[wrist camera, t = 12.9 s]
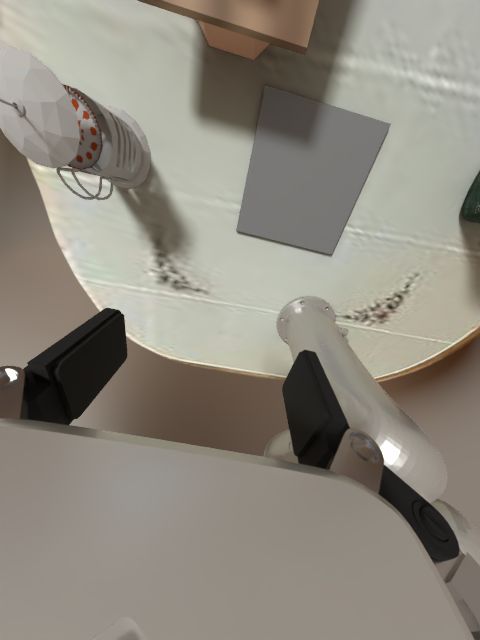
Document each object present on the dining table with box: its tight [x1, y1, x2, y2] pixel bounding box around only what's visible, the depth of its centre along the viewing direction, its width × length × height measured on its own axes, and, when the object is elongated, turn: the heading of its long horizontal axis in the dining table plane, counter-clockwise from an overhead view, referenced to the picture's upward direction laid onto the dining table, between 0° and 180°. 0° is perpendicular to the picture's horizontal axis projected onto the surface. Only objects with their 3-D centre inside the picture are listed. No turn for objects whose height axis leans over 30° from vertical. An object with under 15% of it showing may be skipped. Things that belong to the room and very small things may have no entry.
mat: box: [236, 85, 390, 255], centre depth 31 cm, size 18×18×1 cm
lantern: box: [0, 47, 150, 200], centre depth 20 cm, size 10×12×25 cm
